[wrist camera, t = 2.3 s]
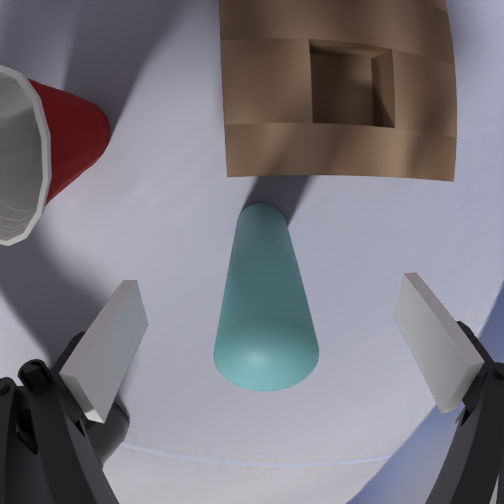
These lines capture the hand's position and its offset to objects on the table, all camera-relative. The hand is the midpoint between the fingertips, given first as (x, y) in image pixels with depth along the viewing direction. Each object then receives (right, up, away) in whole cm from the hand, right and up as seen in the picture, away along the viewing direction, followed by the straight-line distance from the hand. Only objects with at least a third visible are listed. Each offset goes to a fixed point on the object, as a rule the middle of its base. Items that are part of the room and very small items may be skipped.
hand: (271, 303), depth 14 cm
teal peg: (0, +5, +10) cm, 11 cm away
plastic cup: (-15, +12, +7) cm, 21 cm away
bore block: (+5, +19, +4) cm, 20 cm away
